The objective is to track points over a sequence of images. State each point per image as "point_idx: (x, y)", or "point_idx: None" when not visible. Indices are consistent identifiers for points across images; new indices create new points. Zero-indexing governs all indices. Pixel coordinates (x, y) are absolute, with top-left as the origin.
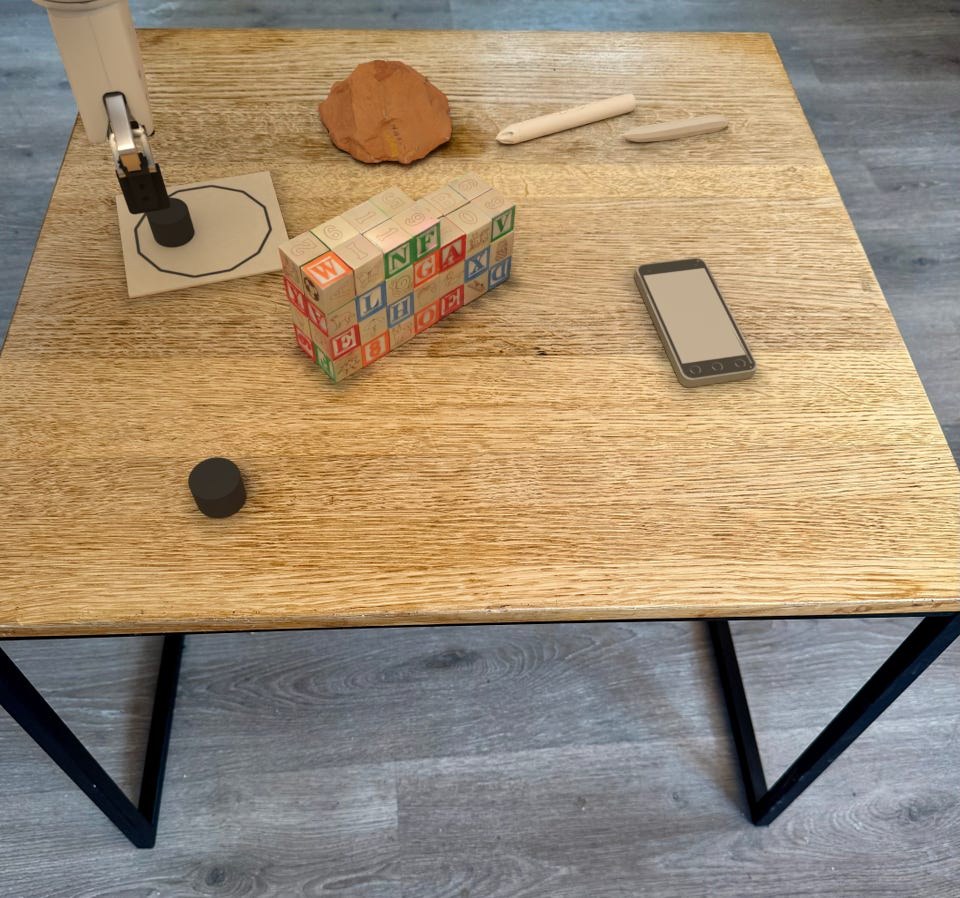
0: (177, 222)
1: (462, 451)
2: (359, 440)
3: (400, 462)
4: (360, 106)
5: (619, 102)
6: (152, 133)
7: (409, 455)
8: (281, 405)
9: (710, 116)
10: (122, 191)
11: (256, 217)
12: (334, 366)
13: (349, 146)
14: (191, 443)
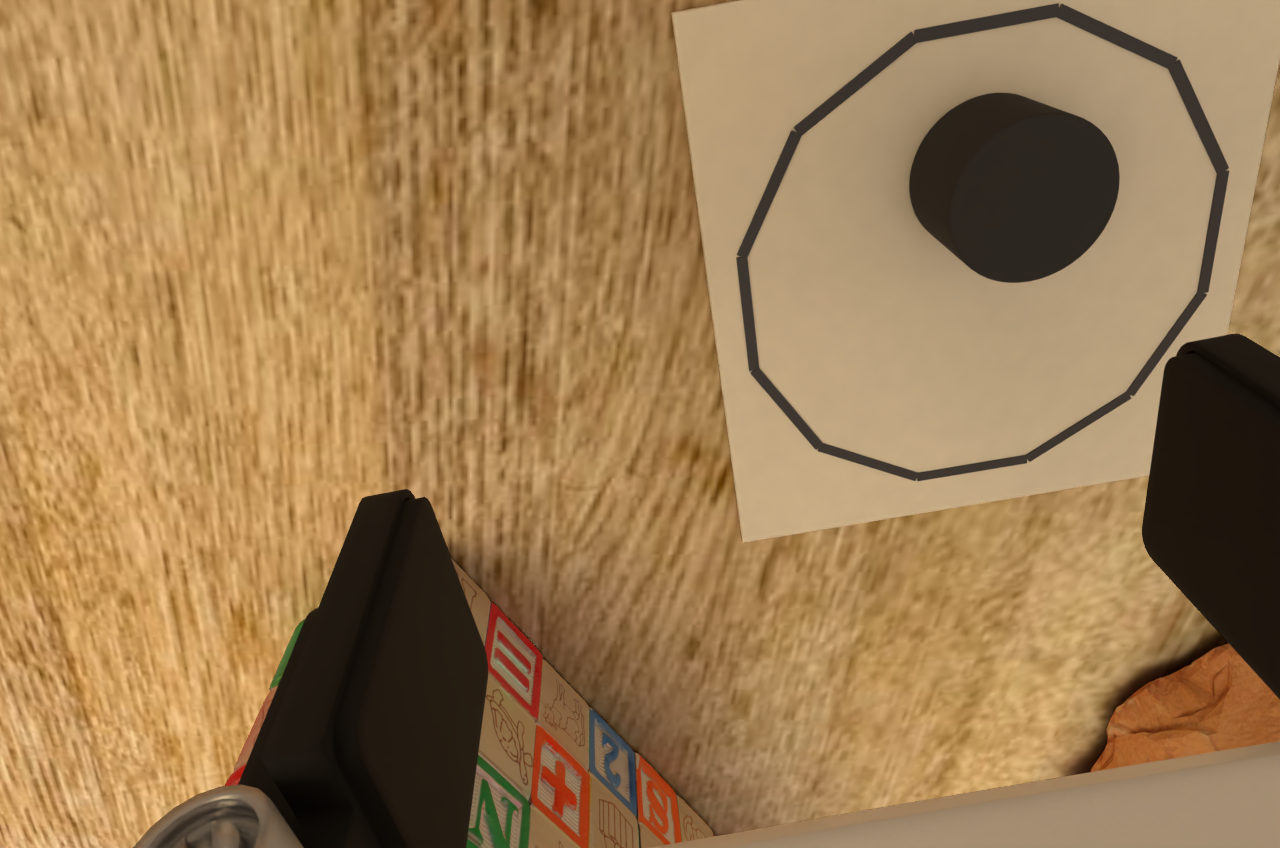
0: (953, 246)
1: (127, 827)
2: (118, 665)
3: (70, 733)
4: None
5: None
6: (1151, 551)
7: (94, 748)
8: (205, 506)
9: None
10: (317, 617)
11: (985, 437)
12: (273, 678)
13: (1196, 684)
14: (11, 276)
